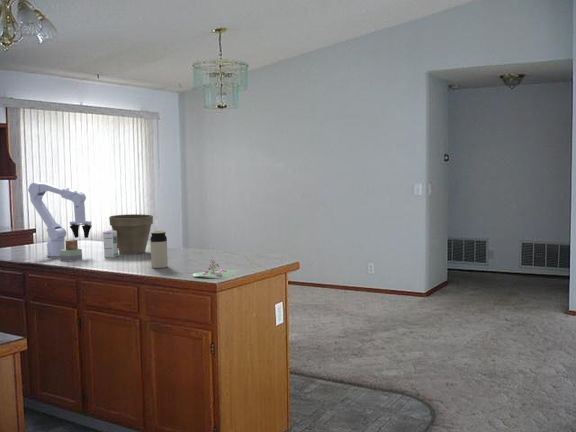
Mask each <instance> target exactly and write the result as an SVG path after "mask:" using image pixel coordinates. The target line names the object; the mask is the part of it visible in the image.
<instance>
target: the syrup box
mask: <svg viewBox="0 0 576 432" xmlns="http://www.w3.org/2000/svg"><path fill="white" fill-rule="evenodd" d="M102 236H103V237H102V238H103V239H102V240H103V255H104V257H105V258H114V257H117V256H119V250H118V243H117V231H115V230H106V231H105V230H104V231H102Z"/></svg>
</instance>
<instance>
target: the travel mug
mask: <svg viewBox="0 0 576 432" xmlns="http://www.w3.org/2000/svg"><path fill="white" fill-rule="evenodd" d="M150 233H151V236H150V239H149V240H150V259H151V260H150V261H151V265H150V266H151V268H153V269H164V268H167V267H169V266H168V265H169V263H168V260H169V259H168V258H169V257H168V240H167V239H168V238H167V236H166V234H167V231H166V230H152V231H151V230H150Z"/></svg>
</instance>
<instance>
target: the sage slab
mask: <svg viewBox="0 0 576 432" xmlns="http://www.w3.org/2000/svg"><path fill="white" fill-rule="evenodd" d="M60 255H61V256H76V255H82V256H83V249H82V248H78V249H75V250H66V248H65V249H64V250H60Z"/></svg>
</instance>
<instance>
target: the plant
mask: <svg viewBox="0 0 576 432" xmlns="http://www.w3.org/2000/svg"><path fill="white" fill-rule="evenodd" d="M210 262H211V265H209V267H208V268H207V269H208V270H207V269H205V270H203V271H201V272H194V273H192V276H191V277H193V278H205V279H225V278H230V277H232V276H235V275H236V274H238V273H239V272H238V271H239V270H240V269H224V268H222V269H219V270H215V269H216V268H217V267H220V265H219V263H216V261H215V260H214V257H212V259H211V260H210ZM237 272H238V273H237Z"/></svg>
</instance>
